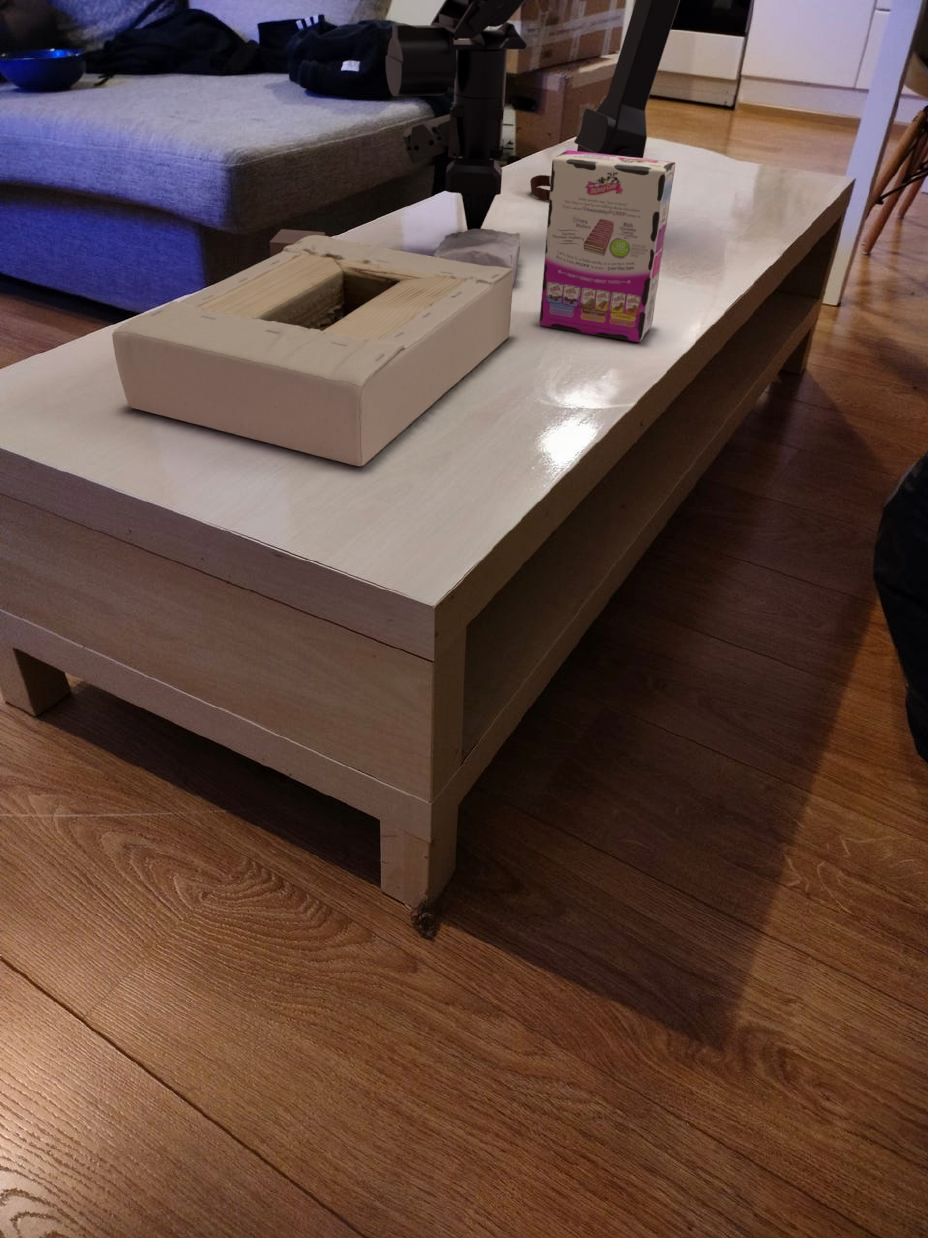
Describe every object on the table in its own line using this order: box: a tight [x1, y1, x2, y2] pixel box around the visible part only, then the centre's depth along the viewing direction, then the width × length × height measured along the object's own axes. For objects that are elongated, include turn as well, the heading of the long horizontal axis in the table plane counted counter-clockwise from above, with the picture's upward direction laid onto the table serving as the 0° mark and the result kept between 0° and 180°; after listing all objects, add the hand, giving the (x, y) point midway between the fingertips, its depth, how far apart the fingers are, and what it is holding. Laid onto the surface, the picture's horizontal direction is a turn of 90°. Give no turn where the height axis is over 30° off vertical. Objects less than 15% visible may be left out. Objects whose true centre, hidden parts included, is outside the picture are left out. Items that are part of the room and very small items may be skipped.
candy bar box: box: [539, 149, 676, 343], centre depth 97 cm, size 11×5×16 cm, turn 68°
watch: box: [529, 174, 551, 202], centre depth 142 cm, size 8×5×4 cm, turn 48°
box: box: [111, 235, 514, 467], centre depth 88 cm, size 23×8×32 cm
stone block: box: [433, 228, 521, 285], centre depth 114 cm, size 12×5×10 cm
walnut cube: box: [268, 228, 326, 258], centre depth 108 cm, size 5×5×5 cm
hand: (472, 236), depth 119 cm, fingers closed
